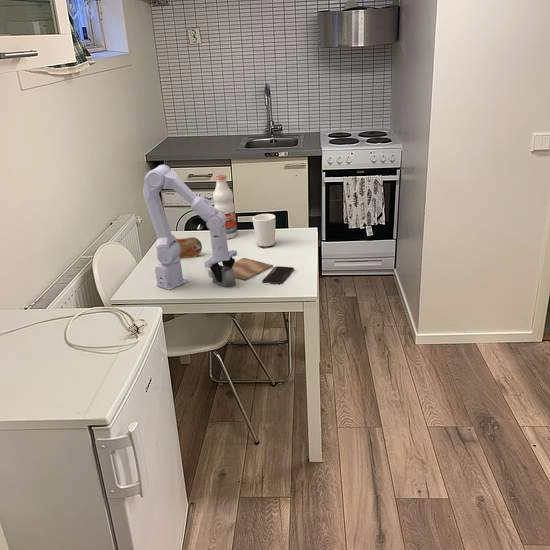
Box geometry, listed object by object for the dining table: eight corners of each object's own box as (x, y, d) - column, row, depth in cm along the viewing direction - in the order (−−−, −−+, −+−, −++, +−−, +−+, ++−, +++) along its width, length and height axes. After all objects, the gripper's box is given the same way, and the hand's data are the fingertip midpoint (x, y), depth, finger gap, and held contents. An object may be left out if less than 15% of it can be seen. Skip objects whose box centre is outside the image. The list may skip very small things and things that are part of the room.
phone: (261, 281, 208) (275, 265, 220) (261, 284, 208) (276, 268, 221) (281, 283, 205) (295, 267, 218) (281, 285, 205) (295, 270, 218)
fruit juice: (227, 231, 267) (220, 173, 256) (241, 234, 261) (235, 174, 250) (213, 237, 260) (205, 177, 249) (227, 241, 254) (220, 179, 244)
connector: (230, 288, 206) (228, 273, 203) (207, 281, 213) (205, 266, 211) (237, 284, 208) (236, 269, 206) (215, 277, 216) (213, 263, 214)
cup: (261, 240, 252) (259, 213, 247) (281, 242, 247) (279, 214, 242) (250, 248, 244) (248, 219, 239) (271, 250, 239) (268, 221, 234)
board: (244, 280, 211) (244, 279, 211) (215, 272, 221) (215, 270, 221) (273, 266, 222) (273, 265, 222) (244, 259, 232) (243, 257, 232)
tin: (167, 259, 238) (164, 240, 235) (168, 257, 241) (165, 238, 238) (202, 256, 238) (200, 238, 235) (203, 254, 241) (201, 235, 238)
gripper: (212, 253, 197) (216, 288, 202) (241, 240, 207) (244, 275, 212) (198, 249, 201) (203, 284, 207) (227, 237, 211) (231, 271, 216)
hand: (223, 279), depth 210 cm, fingers closed on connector, 4 cm apart
